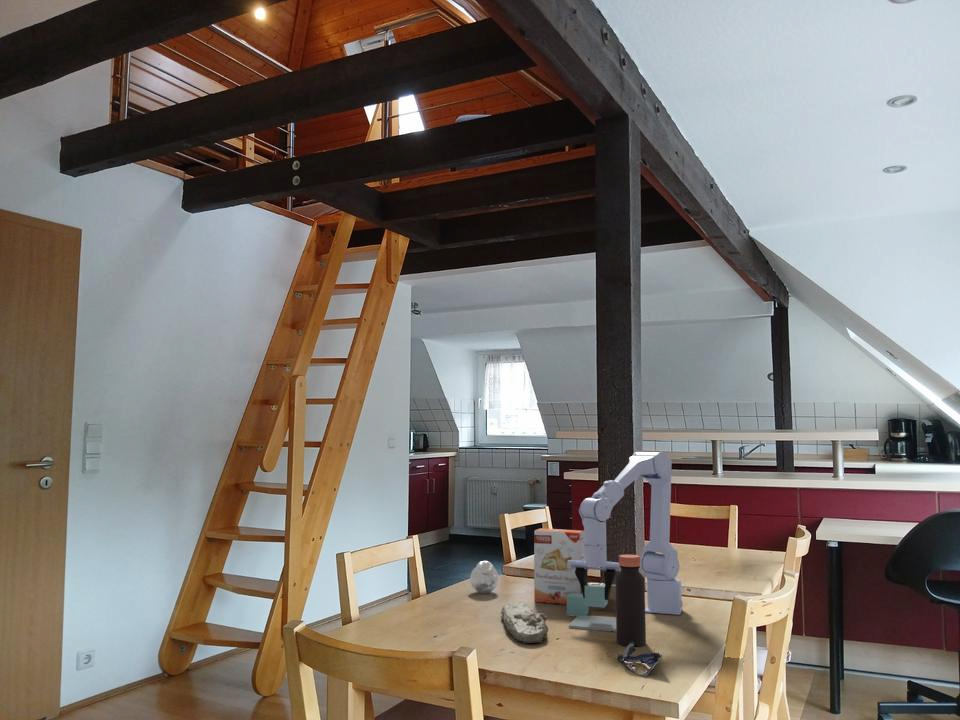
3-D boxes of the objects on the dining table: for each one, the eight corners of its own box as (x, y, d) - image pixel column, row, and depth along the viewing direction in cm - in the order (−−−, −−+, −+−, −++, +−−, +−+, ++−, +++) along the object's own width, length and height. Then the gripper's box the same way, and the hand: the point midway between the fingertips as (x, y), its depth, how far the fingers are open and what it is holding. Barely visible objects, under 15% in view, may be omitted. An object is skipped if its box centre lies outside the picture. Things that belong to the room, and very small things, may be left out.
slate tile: (623, 620, 195) (623, 618, 195) (616, 631, 184) (616, 629, 184) (578, 617, 199) (578, 614, 199) (568, 627, 188) (568, 625, 188)
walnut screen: (628, 610, 207) (628, 584, 208) (626, 613, 203) (625, 587, 204) (582, 606, 211) (582, 581, 212) (579, 609, 208) (579, 584, 208)
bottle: (625, 637, 179) (623, 552, 181) (651, 642, 174) (649, 555, 176) (611, 643, 173) (609, 556, 176) (637, 648, 169) (635, 559, 171)
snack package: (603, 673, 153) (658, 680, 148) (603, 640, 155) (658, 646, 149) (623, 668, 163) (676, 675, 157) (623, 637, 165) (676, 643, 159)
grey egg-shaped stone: (466, 595, 227) (466, 562, 228) (473, 589, 236) (473, 557, 237) (495, 597, 225) (495, 563, 226) (501, 591, 234) (501, 558, 235)
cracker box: (533, 602, 217) (533, 529, 219) (539, 598, 223) (539, 527, 225) (580, 606, 212) (579, 532, 214) (585, 602, 217) (584, 529, 220)
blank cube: (588, 612, 205) (588, 594, 205) (585, 616, 200) (584, 597, 201) (571, 611, 206) (570, 592, 207) (567, 615, 202) (566, 596, 202)
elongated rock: (531, 616, 207) (496, 619, 206) (530, 597, 207) (494, 599, 206) (555, 643, 172) (513, 647, 171) (554, 620, 173) (512, 623, 172)
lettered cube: (607, 603, 194) (607, 582, 194) (604, 607, 189) (603, 586, 190) (588, 602, 195) (588, 581, 196) (584, 606, 191) (584, 584, 191)
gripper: (564, 545, 192) (565, 599, 191) (620, 548, 188) (621, 603, 186) (570, 541, 199) (571, 594, 198) (625, 544, 194) (626, 598, 193)
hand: (596, 598), depth 192 cm, fingers closed on lettered cube, 5 cm apart
